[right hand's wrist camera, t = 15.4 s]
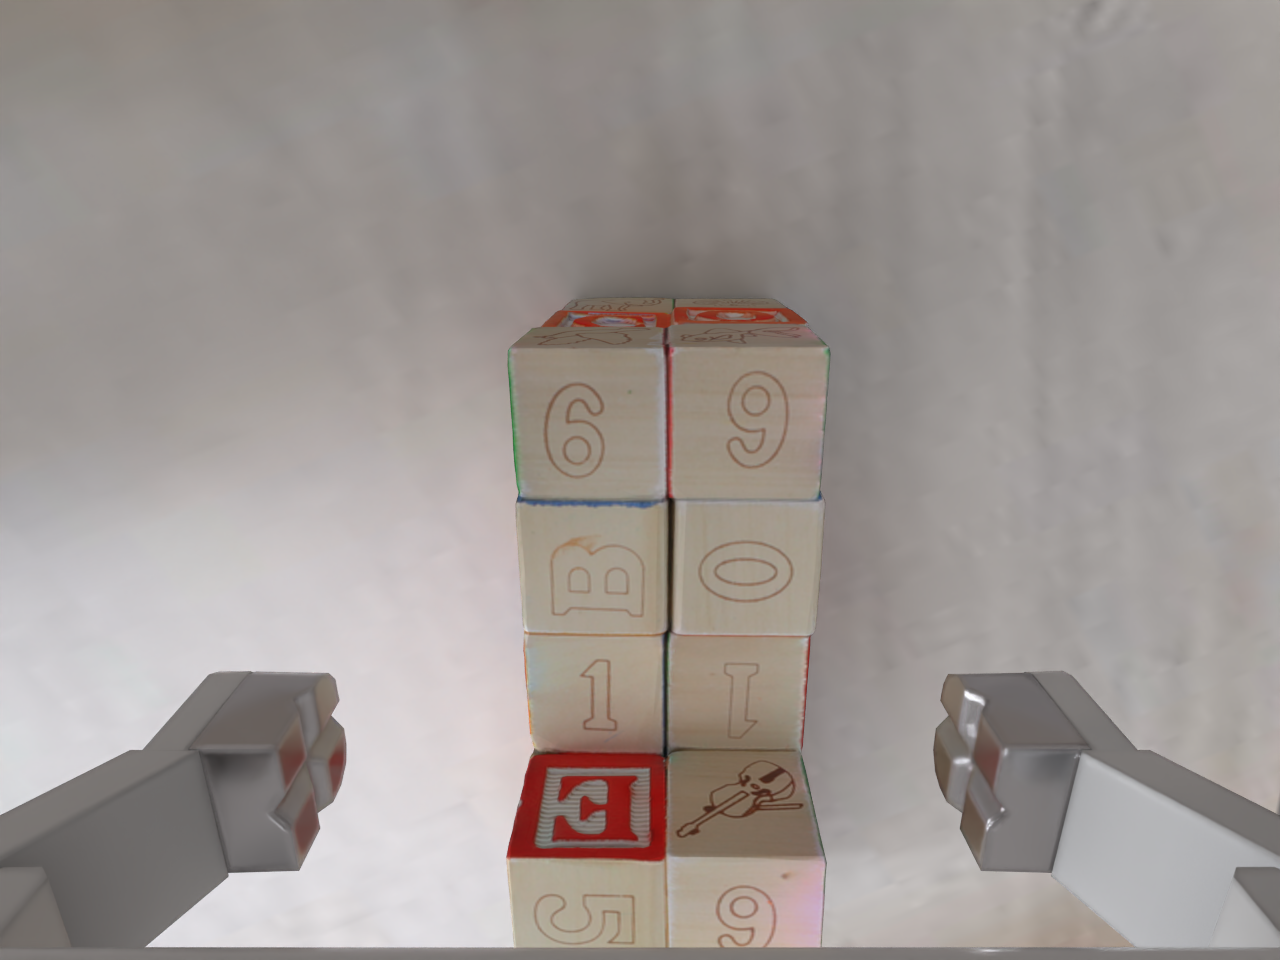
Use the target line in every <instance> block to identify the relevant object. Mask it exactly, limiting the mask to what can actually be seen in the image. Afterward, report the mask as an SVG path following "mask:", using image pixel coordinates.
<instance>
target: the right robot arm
mask: <svg viewBox="0 0 1280 960" xmlns="http://www.w3.org/2000/svg"><path fill="white" fill-rule="evenodd" d="M940 701H941V702H942V704H943V706H944V708H945V709H946V711H947V713H948V715H949V716H948V717H947V718H946V719H945V720H944V721H943V722H942V723H941V724H940V725H939V726H938V727H937V728H936V733H935V741H934V749H933V751H934V763H935V772H936V776H937V779H938V783H939V786H940V789H941V791H942V793H943V795H944V797H945V799H946V801H947V802H948V803H949V804H951V805H952V806H953V807H955V808H956V809H958V810H959V811H960V812H962V819H961V825H960V830H961V832H962V834H963V836H964V838H965V840H966V842H967V844H968V846H969V848H970V850H971V852H972V854H973V856H974V858H975V860H976V862H977V864H978V866H979V868H980V870H981V871H1007V872H1043V873H1052V875H1051V876H1052V877H1053V878H1054V879H1055V880H1057V881H1058V882H1059V883H1060V884H1061V885H1062V886H1064V887H1065V888H1066V889H1067V890H1068V891H1070V892H1071V893H1072V894H1073V895H1074V896H1075V897H1077V898H1078V899H1079V900H1080V901H1081V902H1083V903H1084V904H1085V905H1086V906H1087V907H1089V908H1090V909H1091V910H1092V911H1093V912H1094V913H1096V914H1097V915H1098V916H1099V917H1100V918H1102V919H1103V920H1104V921H1105V922H1106V923H1108V924H1109V925H1110V926H1111V927H1112V928H1113V929H1115V930H1116V931H1117V932H1118V933H1119V934H1121V935H1122V936H1123V937H1124V938H1125V939H1126V940H1128V941H1129V942H1130V943H1131V944H1132V945H1134V946H1135V947H1091V948H1052V947H625V948H351V947H145V946H147V945H148V944H149V943H150V942H151V941H153V940H154V939H155V938H156V937H157V936H158V935H160V934H161V933H162V932H163V931H164V930H166V929H167V928H168V927H169V926H170V925H172V924H173V923H174V922H175V921H176V920H177V919H179V918H180V917H181V916H182V915H183V914H185V913H186V912H187V911H188V910H189V909H191V908H192V907H193V906H194V905H195V904H197V903H198V902H199V901H200V900H201V899H202V898H204V897H205V896H206V895H207V894H208V893H210V892H211V891H212V890H213V889H214V888H216V887H217V886H218V885H219V884H220V883H221V882H223V881H224V880H225V879H226V878H227V877H228V873H237V872H271V871H299V870H300V868H301V866H302V864H303V862H304V860H305V858H306V856H307V854H308V852H309V850H310V848H311V846H312V844H313V842H314V840H315V838H316V836H317V834H318V832H319V830H320V825H319V819H318V812H320V811H321V810H322V809H324V808H325V807H327V806H328V805H329V804H331V803H332V802H333V801H334V799H335V797H336V795H337V793H338V790H339V788H340V786H341V783H342V779H343V774H344V769H345V765H346V739H345V732H344V728H343V727H342V726H341V725H340V724H339V723H338V722H337V721H336V720H335V719H334V718H333V717H332V716H331V715H332V713H333V711H334V709H335V708H336V706H337V704H338V702H339V696H338V691H337V686H336V681H335V679H334V678H333V677H332V676H331V675H330V674H329V673H299V672H251V671H227V672H216V673H213V674H209V675H208V676H207V677H206V678H205V679H204V681H203V682H202V683H201V684H200V685H199V686H198V687H197V689H196V690H195V691H194V692H193V693H192V694H191V695H190V696H189V698H188V699H187V700H186V701H185V702H184V703H183V704H182V706H181V707H180V708H179V709H178V710H177V711H176V712H175V714H174V715H173V716H172V717H171V718H170V719H169V720H168V721H167V723H166V724H165V725H164V726H163V727H162V728H161V729H160V731H159V732H158V733H157V734H156V735H155V736H154V737H153V739H152V740H151V741H150V742H149V743H148V744H147V745H146V747H145V748H144V749H143V750H129V751H127V752H125V753H123V754H121V755H119V756H117V757H115V758H114V759H112V760H110V761H108V762H106V763H104V764H102V765H100V766H98V767H96V768H94V769H92V770H90V771H88V772H86V773H84V774H82V775H80V776H78V777H76V778H74V779H72V780H70V781H68V782H66V783H64V784H62V785H60V786H58V787H56V788H54V789H52V790H50V791H48V792H46V793H44V794H42V795H40V796H38V797H36V798H34V799H32V800H30V801H28V802H26V803H24V804H22V805H20V806H18V807H16V808H14V809H12V810H10V811H8V812H6V813H4V814H2V815H0V960H1280V815H1278V814H1276V813H1274V812H1272V811H1270V810H1268V809H1266V808H1264V807H1262V806H1260V805H1258V804H1256V803H1254V802H1252V801H1250V800H1248V799H1246V798H1244V797H1242V796H1240V795H1238V794H1236V793H1234V792H1232V791H1230V790H1228V789H1226V788H1224V787H1222V786H1220V785H1218V784H1216V783H1214V782H1212V781H1210V780H1208V779H1206V778H1204V777H1202V776H1200V775H1198V774H1196V773H1194V772H1192V771H1190V770H1188V769H1186V768H1184V767H1182V766H1180V765H1178V764H1176V763H1174V762H1172V761H1170V760H1168V759H1166V758H1164V757H1162V756H1160V755H1159V754H1157V753H1155V752H1153V751H1151V750H1137V749H1136V748H1135V747H1134V745H1133V744H1132V743H1131V742H1130V741H1129V740H1128V739H1127V737H1126V736H1125V735H1124V734H1123V733H1122V732H1121V731H1120V730H1119V728H1118V727H1117V726H1116V725H1115V724H1114V723H1113V722H1112V720H1111V719H1110V718H1109V717H1108V716H1107V715H1106V714H1105V712H1104V711H1103V710H1102V709H1101V708H1100V707H1099V706H1098V704H1097V703H1096V702H1095V701H1094V700H1093V699H1092V698H1091V697H1090V695H1089V694H1088V693H1087V692H1086V691H1085V690H1084V689H1083V687H1082V686H1081V685H1080V684H1079V683H1078V682H1077V681H1076V679H1075V678H1074V677H1073V676H1072V675H1070V674H1068V673H1066V672H1064V671H1045V672H1024V673H989V674H948V676H947V678H946V680H945V682H944V684H943V689H942V695H941V700H940Z"/></svg>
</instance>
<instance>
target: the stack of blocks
mask: <svg viewBox="0 0 1280 960" xmlns="http://www.w3.org/2000/svg"><path fill="white" fill-rule="evenodd" d="M829 366H830V349H829V347H828V346H827V345H826V344H825V343H824V342H823V341H822V340H821V339H820V338H819V337H818V336H817V335H815V334H814V333H813V332H812V331H811V330H810V329H809V328H808V323H807V322H806V321H805V320H804V319H803V318H802V317H800V316H799V315H798V314H796V313H795V312H794V311H792V310H790V309H788V308H787V307H785V306H784V305H783V304H781V303H779V302H778V301H777V300H775V299H669V298H591V299H576V300H572V301H571V302H569V303H568V304H567V305H566V306H565V307H564V308H563V309H562V310H561V311H557V312H556V313H555V314H554V315H553V316H552V317H551V318H550V319H549V320H547V321H546V322H545V323H544V324H543V325H542V327H539V328H532V329H531V330H530V331H529V332H528V333H527V334H526V335H524V336H523V337H522V338H520V339H519V340H518V341H517V342H516V343H514V344H513V345H512V346H511V347H510V349H509V350H508V374H509V387H510V403H511V416H512V429H513V451H514V463H515V472H516V482H517V487H518V491H519V494H518V498H517V501H516V527H517V542H518V557H519V572H520V586H521V600H522V617H523V627H524V650H523V651H524V657H525V676H526V689H527V699H528V711H529V724H530V734H531V740H532V743H533V746H534V752H533V754H532V755H531V757H530V760H529V764H528V768H527V771H526V774H525V779H524V786H523V790H522V793H521V797H520V801H519V804H518V807H517V813H516V816H515V820H514V826H513V831H512V835H511V838H510V842H509V846H508V851H507V856H506V860H507V873H508V883H509V893H510V905H511V916H512V928H513V939H514V948H625V947H821V945H822V928H823V913H824V896H825V875H826V866H827V862H826V858H825V854H824V849H823V845H822V841H821V837H820V832H819V828H818V823H817V819H816V814H815V810H814V806H813V801H812V797H811V792H810V788H809V783H808V779H807V774H806V770H805V766H804V762H803V759H802V755H801V751H802V747H803V734H804V720H805V707H806V693H807V679H808V667H809V654H810V636H811V635H812V634H813V633H814V631H815V628H816V618H817V607H818V596H819V585H820V575H821V560H822V545H823V530H824V515H825V500H824V498H823V496H822V493H821V491H820V483H821V475H822V462H823V448H824V433H825V421H826V407H827V393H828V381H829Z"/></svg>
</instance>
